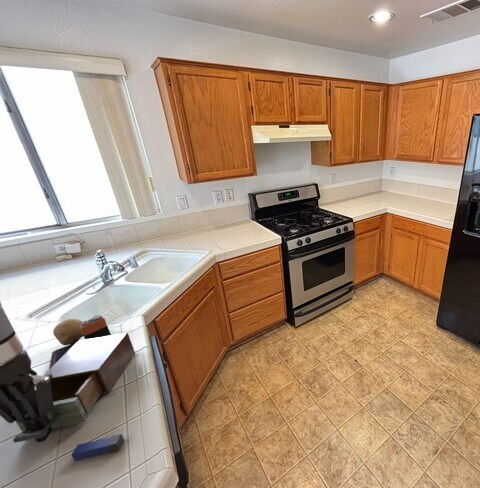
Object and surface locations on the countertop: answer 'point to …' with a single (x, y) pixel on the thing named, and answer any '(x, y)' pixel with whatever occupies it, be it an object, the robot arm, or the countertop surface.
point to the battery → (94, 328)
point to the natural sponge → (68, 331)
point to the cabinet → (96, 359)
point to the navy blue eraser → (98, 447)
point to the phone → (59, 354)
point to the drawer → (67, 403)
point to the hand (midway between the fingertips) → (45, 436)
